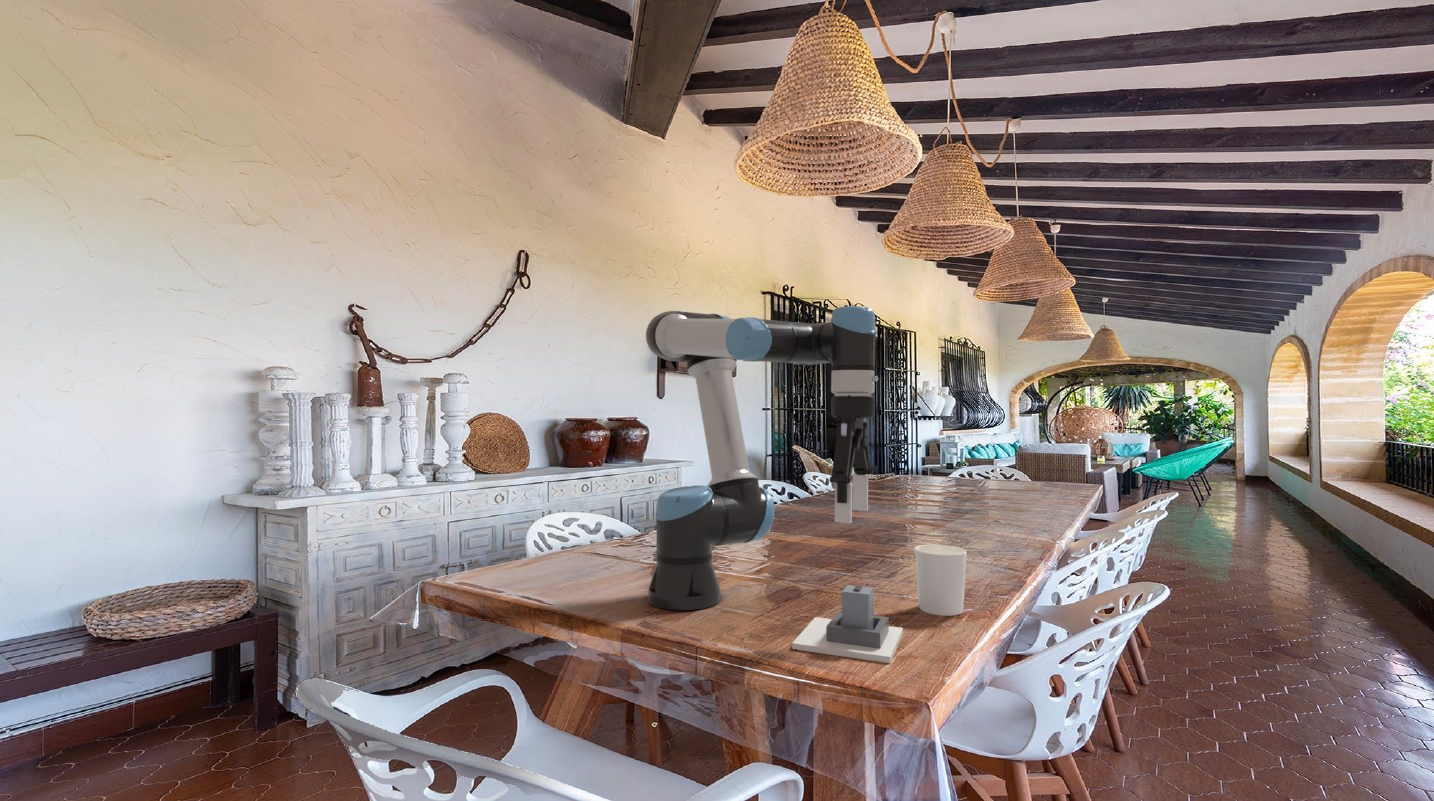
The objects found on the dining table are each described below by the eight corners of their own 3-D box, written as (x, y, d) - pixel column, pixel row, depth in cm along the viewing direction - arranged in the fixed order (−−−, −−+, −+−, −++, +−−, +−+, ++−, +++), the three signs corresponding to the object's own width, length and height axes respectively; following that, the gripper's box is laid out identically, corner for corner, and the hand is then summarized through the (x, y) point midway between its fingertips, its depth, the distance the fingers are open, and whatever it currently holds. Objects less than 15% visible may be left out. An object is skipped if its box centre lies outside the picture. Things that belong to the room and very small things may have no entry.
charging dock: (792, 649, 110) (792, 628, 110) (815, 622, 124) (815, 603, 124) (890, 663, 104) (890, 641, 104) (903, 633, 118) (903, 613, 118)
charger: (842, 638, 112) (841, 589, 112) (847, 630, 116) (847, 583, 116) (868, 642, 110) (868, 592, 110) (873, 634, 114) (873, 586, 115)
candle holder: (908, 611, 130) (908, 550, 131) (923, 599, 139) (923, 542, 139) (960, 620, 125) (959, 557, 125) (972, 607, 133) (971, 547, 133)
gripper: (859, 394, 103) (858, 530, 103) (886, 396, 126) (886, 507, 126) (812, 394, 106) (811, 526, 106) (847, 395, 129) (847, 504, 129)
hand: (852, 516), depth 116 cm, fingers open, 13 cm apart
